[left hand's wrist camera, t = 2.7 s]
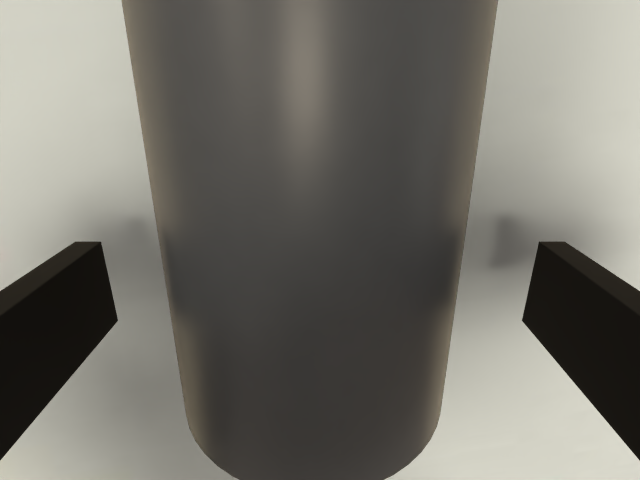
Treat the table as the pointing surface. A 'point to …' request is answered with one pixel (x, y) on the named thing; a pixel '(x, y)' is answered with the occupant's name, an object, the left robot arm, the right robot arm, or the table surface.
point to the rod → (311, 218)
